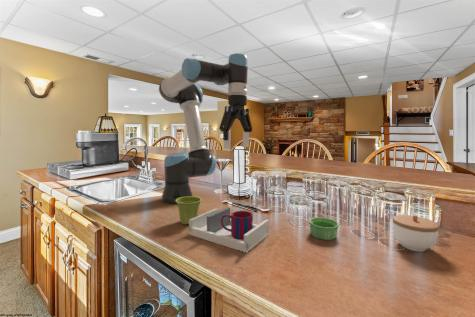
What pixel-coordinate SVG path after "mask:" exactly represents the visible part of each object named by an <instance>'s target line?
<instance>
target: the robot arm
mask: <svg viewBox="0 0 475 317" xmlns="http://www.w3.org/2000/svg"><path fill="white" fill-rule="evenodd" d="M248 67H249V65H248V56H247V55H245V54H243V53H238V52H237V53H231V54H230V55H229V56H228V61H227V63H225V64H218V63H214V62H209V61H205V60H200V59H196V58H189V57H188V58H184V60H183V61H182V64H181V69H180V70H179V71H177V72H176V73H175V74H173V75H172V76H170V77H167V78H165V79H163V80H162V81H161V82H160V83H159V86H158V92H159V95H160V96H161V97H162V98H163V99H164V100H165V101H166V102H169V103H172V104H179V108H180V109H181V110H182V111H183V115H184V116H183V118H184V122H185V126H186V132H187V139H188V143H189V144H188V145H189V151H188V152H176V153H171V154H168V155H166V156H165V157H164V163H163V164H164V165H163V166H164V168H163V169H164V187H163V192H162V195H161V201H162V202H163V203H165V204H177V202H176V199H178V198H181V197H188V196H192V197H194V196H193V195H194V194H193V193H192V189H191V186H190V183H189V182H190V178H197V177H206V176H211V175H212V174H214V173H215V170H216V167H217V158H216V156H215V155H214V153H211V151H210V149H209V148H208V147H207V144H206V140H205V139H206V138H205V134H204V128H203V125H202V120H201V119H202V118H201V113H200V109H199V108H200V107H201V105H202V103H203V101H204V98H203V97H204V93H203V90H202V88H201V86H200V85H198V84H196V83H198V82H200V81H204V82H208V83H213V84H214V85H216V86H225V85H228V87H227V88H228V90H227V91H228V92H227V93H228V97H227V98H228V100H227V101H228V102H227V103H228V104H227V105H225V107H224V112H223V115H222V119H221V121H220V124H219V131H220V132H222V134H223V135H222V139H223V149H225V150H231V131H230V130H231V128H232V126H233V124H234V122H235V121H236V120H237V119H238V121H239V122H240V125H241V127H242V130H243V131H242V148H250V133H252V131H253V126H252V122H251V117H250V109H249V108H245V106H247V104H248V96H247V94H248Z"/></svg>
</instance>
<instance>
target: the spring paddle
mask: <svg viewBox="0 0 475 317" xmlns="http://www.w3.org/2000/svg"><path fill="white" fill-rule="evenodd" d="M224 215H231V207H228V206H226V207H224V208H223V209H220V210H218V212H215V213H213V214H211V215H209V216H207V231H210V232H213V233H214V232H215V231H217V230H219V229H221V228H223V227H222V224H221V219H222V217H223V216H224ZM223 224H224V226H226V225H228V224H230V218H229V217H227V216H226V217H224V218H223Z"/></svg>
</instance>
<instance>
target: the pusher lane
mask: <svg viewBox="0 0 475 317" xmlns="http://www.w3.org/2000/svg"><path fill="white" fill-rule="evenodd" d="M218 211H219V210H218V208H213V209H210V210H208V211H206V212H204V213H202V214H200V215H199V214H198V216H197V217H194V218H192V219H190V220H189V224H188V234H189V235H190V236H193V237H196V238H198V239H203V240H205V241H209V242H211V243H215V244H217V245H221V246H225V247H227V248H230V249H233V250H237V251H239V250H240V252H242V251H243V252H242V253H245V252H246V254H247V253H249V252H250V251H251V250H252V249H254V248H255V246H257V245H258V244H260V242H262V241H263V240H265V238H267V237H268V236H269V232H270V231H269V228H270V220H269V219H265V220H263V221H262V222H260V223H259V224H256V223H253V229H252V230H250V231H249V232H247V233H246V234H244V240H240V239H235V238H233V237H232V235H231V232H230V231H227V230H225V229H224V228H221V229H219V230H217V231H215V232H214V233H213V232H210V231H207V216H209V215H211V214H213V213H215V212H218ZM225 227H226V228H228V229H231V219H230V224H228V225H226V226H225ZM249 250H250V251H249ZM248 251H249V252H248Z"/></svg>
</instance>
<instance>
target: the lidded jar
mask: <svg viewBox="0 0 475 317" xmlns="http://www.w3.org/2000/svg"><path fill="white" fill-rule="evenodd" d="M439 230H440V225H439V223H437V222H435V221H433V220H431V219H428V218H425V217H421V216H418V215H416V214H413V215H409V214H398V215H394V216H393V217H392V231H393V235H394V237H395V239H396V240H397V242H398V243H399V244H400V246H401V245H402V246H401V247H403V248H404V247H405V248H404V249H407V250H410V251H413V252H419V253H420V252H421V253H422V252H426V251H427V250H429V249H431V247H433V246H434V245H435V244H436V242H437V238H438V236H439V235H438V234H439Z"/></svg>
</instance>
